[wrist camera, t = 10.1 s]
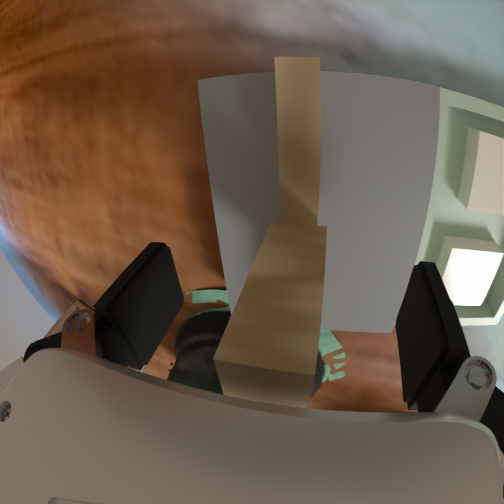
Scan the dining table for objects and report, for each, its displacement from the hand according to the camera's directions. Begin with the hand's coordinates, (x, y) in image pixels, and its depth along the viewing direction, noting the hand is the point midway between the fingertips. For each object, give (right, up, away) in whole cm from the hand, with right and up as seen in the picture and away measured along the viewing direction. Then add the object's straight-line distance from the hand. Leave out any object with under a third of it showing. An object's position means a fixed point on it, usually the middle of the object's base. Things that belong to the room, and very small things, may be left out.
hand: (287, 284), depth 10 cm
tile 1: (+13, +5, 0) cm, 14 cm away
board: (+3, +4, +6) cm, 8 cm away
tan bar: (+1, +2, +4) cm, 5 cm away
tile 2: (+13, -1, +4) cm, 13 cm away
